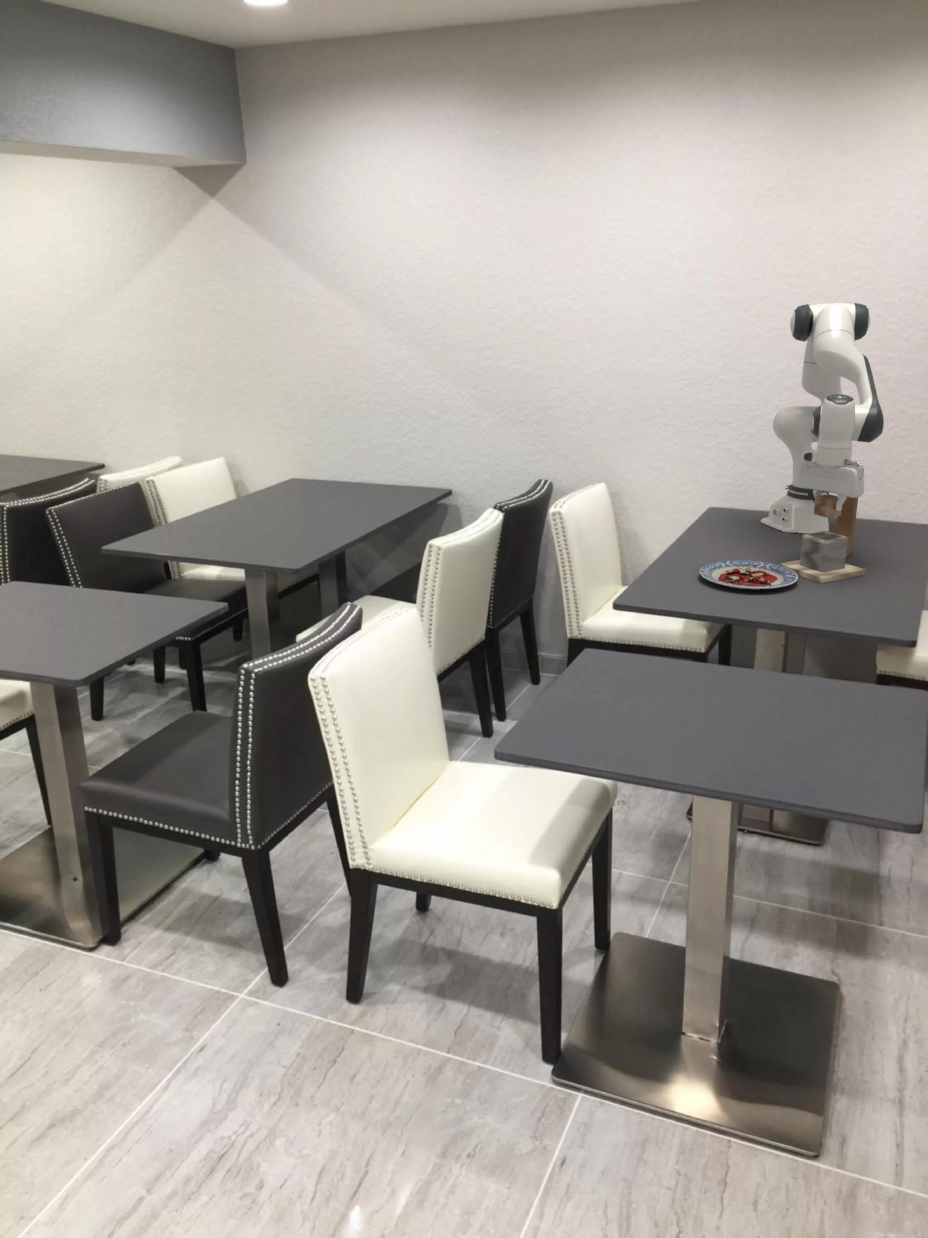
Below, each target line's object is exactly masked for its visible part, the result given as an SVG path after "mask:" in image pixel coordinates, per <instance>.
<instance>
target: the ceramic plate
mask: <svg viewBox="0 0 928 1238" xmlns="http://www.w3.org/2000/svg"><path fill="white" fill-rule="evenodd" d="M699 574H700V576H701V577H702V578H703V579H705V580H707V581H709V582H712V583H714V584H718V585H722V586H725V587H729V588H733V589H739V590H746V589H749V591H750V590H751V591H753V590H755V591H761V590H760V589H763V590H769V589H778V588H783V587H787V586H791V585H793V584H795V583H796V582H797V581H798V579H799V575H797V574H796V573H795V572H794V571H792V570H790V569H788V568H786V567H782V566H779V564H775V563H769V562H763V561H757V560H756V561H755V560H725V561H717V562H712V563H708V564H705V565H704V566H702V567H701V568H700V569H699Z"/></svg>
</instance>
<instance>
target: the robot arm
mask: <svg viewBox="0 0 928 1238" xmlns="http://www.w3.org/2000/svg"><path fill="white" fill-rule="evenodd" d="M793 311H794V312H793V313H792V315H791V317H790V323H789V326H790V327H789V328H790V332H791V335H792V337H793V338H794V339H795V340H796V341H798V342H799V341H800V342H806V345H805V350H804V355H803V356H804V358H803V366H802V374H801V375H802V376H801V386H802V388H803V390H804V391H805V392H806V393H807V394H810V395H812V396H813V397H815V398H816V399H818V400H819V401H820V402H821V404H820V405H818V406H815V405H814V406H813V405H812V406H811V405H809V406H808V405H805V406H803V405H800V406H799V405H796V406H788V407H783V408H780V409H779V410H778V411H777V412H776V414H775V415H774V418H773V422H772V428H773V432H774V434H775V436H776V437H777V439H779V440H780V441H781V442H783V443H784V445H785V446H786V447H787V449H788V450H789V453H790V456H791V459H792V480H791V481H792V482H791V484H790V485H789V484H788V485H785V486H784V487H785V488H784V489H785V490H787V493H786V495H784V496H783V497H782V498H780V499H778V500H777V501H776V502H773V504H771V506H770V509H769V511H768V516H766V517H763V518H761V520H760V523H761V524H764V525H766V526H767V527H771V528H773V529H776V530H778V531H780V530H781V531H780V532H782V533H796V532H797V533H798V534H809V533H815V532H821V531H827V532H830V526H829V525H830V523H829V518H827V517H823V516H819V515H815V514H814V505H815V496H820V495H827V494H834V495H836V496H837V498H839V499H838V501H837V503H835V504H833V510H836V511H841V510H842V504H843V503H844V501H845V500H846V499H847V497H852V498H855V497H858V498H860V497H862V496H863V495H864V493H865V468H864V466H863V465H862V464H861V462H860V461H853V460H852V451H853V442H859V443H860V442H861V443H871V442H874V441H875V440H876V439H878V438H879V437H880V436H881V435H882V434H883V430H884V427H885V418H884V413H883V409H882V407H881V404H880V401H879V398H878V393H877V388H876V384H875V380H874V377H873V376H874V375H873V371H872V367H871V364H870V362H869V358H868V356H866V355H865V354H862V353H861V351H859V349H858V347H857V346H856V343H855V341H859V340H861V339H862V338H864V337H866V335H867V333H868V331H869V329H870V326H871V314H870V311H869V307H867V305H865V304H862V303H858V302H854V303H847V302H830V303H828V302H827V303H815V304H809V303H808V304H802V305H799V306H797V307H796V308H795V309H794V310H793ZM841 378H844V379H846V380H848V381H850V382H852V383H853V384H854V385H855V387H856V388H857V394H858V397H859V402H860V404H856V402H855V398H854V397H852V396H850V395H847V394H843V393H842V387H841V386H842V385H841ZM852 441H853V442H852ZM813 443H817V445H816V446H817V447H816V449H814V448H813V447H812V444H813ZM797 533H796V534H797Z"/></svg>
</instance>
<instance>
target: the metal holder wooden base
mask: <svg viewBox="0 0 928 1238" xmlns="http://www.w3.org/2000/svg"><path fill="white" fill-rule="evenodd" d="M847 538H848V537H845V536H841V535H838V534H835V532H830V531H821V532H815V533H802V537H801V545H800V546H801V547H800V556H799V560H793V561H786V562H782V563H779V564H778V565H779V566H782V567H786V568H788V569H790V570H792V571H794V572H795V573H796V574H797V575H798V577H802V578H804V579H807V580H811V581H814V582H816V583H819V584H825V583H831V582H832V583H833V582H835V581H841V580H847V579H851V578H856V577H860V576H865V575H866V569H865V568H861V567H859V566H855V565H851V564H848V563H846V560H847V558H846V552H847V543H848V540H847Z"/></svg>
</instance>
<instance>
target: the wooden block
mask: <svg viewBox="0 0 928 1238" xmlns="http://www.w3.org/2000/svg"><path fill="white" fill-rule="evenodd" d="M858 503H859V497H855V498H852V497H847V499H846V500H845V501H844V503H843V504H842V511H841V516H836V518H837V519H836V525H835V532H834V534H838V535H841V536H845V537H848V538H847V540H848V543H847V552H846V559H847V558H848V557H849V556H850V555H851V553H852V552H853V546H854V537H855V529H856V519H857V513H858V505H859V504H858Z"/></svg>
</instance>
